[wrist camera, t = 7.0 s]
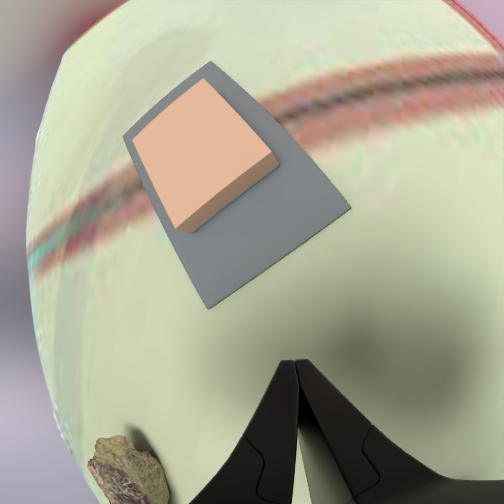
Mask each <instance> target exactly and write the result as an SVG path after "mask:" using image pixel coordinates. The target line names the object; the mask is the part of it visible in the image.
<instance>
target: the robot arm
mask: <svg viewBox="0 0 504 504" xmlns="http://www.w3.org/2000/svg"><path fill="white" fill-rule="evenodd" d="M297 435H298V438H299V443H300V448H301V453H302V458H303V463H304V468H305V472H306V477H307V482H308V487H309V492H310V497H311V502H312V504H504V480H457V479H451V478H447V477H444V476H442V475H440V474H438V473H436V472H435V471H433V470H431V469H430V468H428V467H427V466H425V465H424V464H422V463H421V462H419V461H418V460H416V459H415V458H414V457H412V456H411V455H409V454H408V453H406V452H405V451H404V450H402V449H401V448H400V447H398V446H397V445H396V444H394V443H393V442H392V441H391V440H390V439H388V438H387V437H386V436H385V435H384V434H383V433H382V432H381V431H379V430H378V429H377V428H376V427H375V426H374V425H373V424H372V425H371V422H370V421H369V420H368V419H367V418H366V417H365V416H364V415H363V414H362V413H361V412H360V411H359V410H358V409H357V408H356V407H355V406H354V405H353V404H352V403H351V402H350V401H349V400H348V399H347V398H346V397H345V396H344V395H343V394H342V393H341V392H340V391H339V390H338V389H337V388H336V387H335V386H334V385H333V384H332V383H331V382H330V381H329V380H328V379H327V378H326V377H325V376H324V375H323V374H322V373H321V372H320V371H319V370H318V369H317V368H316V367H315V366H314V365H313V364H312V363H311V362H310V361H309V360H308V359H297V360H295V361H294V360H282V361H280V363H279V365H278V367H277V369H276V371H275V373H274V375H273V377H272V379H271V381H270V383H269V386H268V388H267V389H266V391H265V393H264V395H263V397H262V399H261V401H260V403H259V405H258V407H257V409H256V411H255V413H254V415H253V417H252V418H251V420H250V422H249V424H248V426H247V428H246V429H245V431H244V433H243V435H242V437H241V438H240V440H239V442H238V443H237V445H236V447H235V448H234V450H233V452H232V453H231V455H230V456H229V458H228V459H227V461H226V462H225V463H224V465H223V466H222V467H221V468H220V470H219V471H218V472H217V474H216V475H215V476H214V477H213V478H212V479H211V480H210V482H209V483H208V484H207V485H206V486H205V487H204V488H203V489H202V490H201V491H200V493H199V494H198V495H197V496H196V497H195V498H194V499H193V500H192V501H191V502H190V503H189V504H292V495H293V485H294V475H295V463H296V450H297Z"/></svg>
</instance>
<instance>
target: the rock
mask: <svg viewBox="0 0 504 504" xmlns="http://www.w3.org/2000/svg"><path fill="white" fill-rule="evenodd" d="M95 450H96V452H95V453H94V457H93V459H90V461H89V462H88V465H87V466H88V469H89V470H90V472H91V474H92V475H93V477H94V479H95V480H96V482H97V484H98V486H99V487H100V488H101V490H102V491H103V492H104V494H105V496H106V497H107V498H108V499H109V502H110V504H167V503H168V500H169V491H168V487H167V483H166V477H165V475H164V470H163V468H162V466H161V464H160V463H159V462H158V460H157V459H156V458H154V457H153V456H151V455H150V453H149V452H148V451H140V452H139V451H137V450H136V449H135V447H134V445H133V444H132V441H131V440H130V439H129V438H126V437H125V436H115V437H111V438H107V439H106V438H101V439H98V440H97V441H96V445H95Z"/></svg>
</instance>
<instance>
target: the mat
mask: <svg viewBox="0 0 504 504" xmlns="http://www.w3.org/2000/svg"><path fill="white" fill-rule="evenodd" d="M203 78H204V79H205V80H206V81H207V82H208V83H209V84H210V85H211V86H212V87H213V88H214V89H215V90H216V91H217V92H218V93H219V94H220V95H221V96H222V98H223V99H224V100H225V101H226V102H227V103H228V104H229V105H230V106H231V107H232V108H233V109H234V110H235V111H236V112H237V113H238V114H239V115H240V116H241V118H242V119H243V120H244V121H245V122H246V123H247V124H248V125H249V126H250V127H251V129H252V130H253V131H254V132H255V133H256V134H257V135H258V136H259V138H260V139H261V140H262V141H263V142H264V143H265V144H266V145H267V147H268V148H269V149H270V150H271V151H272V153H273V154H274V156H275V158H276V160H277V161H278V163H279V165H278V166H279V167H277V168H276V169H275V170H273V171H272V172H271V173H269V174H268V175H267V176H265V177H264V178H263V179H261V180H260V181H259V182H257V183H256V184H255V185H253V186H252V187H251V188H249V189H248V190H247V191H245V192H244V193H243V194H241V195H240V196H239V197H238V198H236V199H235V200H234V201H232V202H231V203H230V204H229V205H227V206H226V207H225V208H224V209H222V210H221V211H220V212H218V213H217V214H216V215H215V216H213V217H212V218H211V219H210V220H208V221H207V222H206V223H205V224H204V225H202V226H201V227H200V228H199V229H197V230H196V231H195V232H192V233H188V232H185V231H181V230H178V229H175V227H174V225H173V223H172V221H171V219H170V217H169V215H168V214H167V212H166V210H165V208H164V206H163V204H162V202H161V200H160V198H159V196H158V194H157V192H156V190H155V188H154V185H153V183H152V181H151V179H150V177H149V175H148V173H147V171H146V169H145V167H144V165H143V162H142V160H141V158H140V156H139V154H138V152H137V150H136V147H135V145H134V143H133V141H132V140H133V139H134V138H135V137H136V136H137V135H138V134H139V133H140V132H141V131H142V130H143V129H144V128H145V127H146V126H147V125H148V124H149V123H150V122H151V121H152V120H153V119H155V118H156V117H157V116H158V115H159V114H160V113H161V112H162V111H163V110H165V109H166V108H167V107H168V106H169V105H170V104H172V103H173V102H174V101H175V100H176V99H178V98H179V97H180V96H181V95H182V94H184V93H185V92H186V91H187V90H189V89H190V88H191V87H192V86H194V85H195V84H196V83H198V82H199V81H200V80H202V79H203ZM122 137H123V139H124V142H125V144H126V146H127V149H128V151H129V153H130V156H131V158H132V160H133V163H134V165H135V167H136V170H137V172H138V174H139V176H140V179H141V181H142V183H143V185H144V187H145V190H146V192H147V194H148V196H149V198H150V200H151V203H152V205H153V207H154V209H155V211H156V213H157V215H158V217H159V219H160V221H161V223H162V225H163V227H164V229H165V231H166V233H167V235H168V237H169V239H170V241H171V243H172V245H173V247H174V249H175V251H176V253H177V255H178V257H179V259H180V261H181V262H182V264H183V266H184V268H185V270H186V272H187V274H188V276H189V277H190V279H191V281H192V283H193V285H194V287H195V288H196V290H197V292H198V294H199V295H200V297H201V299H202V301H203V303H204V304H205V306H206V308H207V309H210V308H212V307H213V306H215V305H216V304H217V303H219V302H220V301H222V300H223V299H225V298H226V297H228V296H229V295H231V294H232V293H233V292H235V291H236V290H238V289H239V288H241V287H242V286H244V285H245V284H246V283H248V282H249V281H251V280H252V279H254V278H255V277H256V276H258V275H259V274H261V273H262V272H264V271H265V270H266V269H268V268H269V267H271V266H272V265H273V264H275V263H276V262H278V261H279V260H280V259H282V258H283V257H285V256H286V255H288V254H289V253H290V252H292V251H293V250H294V249H296V248H297V247H299V246H300V245H301V244H303V243H304V242H306V241H307V240H308V239H310V238H311V237H313V236H314V235H315V234H317V233H318V232H319V231H321V230H322V229H324V228H325V227H326V226H328V225H329V224H330V223H332V222H333V221H334V220H336V219H337V218H339V217H340V216H341V215H343V214H344V213H345V212H347V211H348V210H349V209H351V206H350V205H349V204H348V202H347V201H346V200H345V198H344V197H343V196H342V195H341V193H340V192H339V191H338V190H337V188H336V187H335V186H334V185H333V184H332V182H331V181H330V180H329V179H328V178H327V176H326V175H325V174H324V173H323V172H322V170H321V169H320V168H319V167H318V166H317V165H316V163H315V162H314V161H313V160H312V159H311V158H310V157H309V156H308V154H307V153H306V152H305V151H304V150H303V149H302V148H301V147H300V146H299V144H298V143H297V142H296V141H295V140H294V139H293V138H292V137H291V136H290V135H289V134H288V133H287V132H286V131H285V130H284V128H283V127H282V126H281V125H280V124H279V123H278V122H277V121H276V120H275V119H274V118H273V117H272V116H271V115H270V114H269V113H268V112H267V111H266V110H265V109H264V108H263V107H262V106H261V105H260V104H259V103H258V102H256V101H255V100H254V99H253V98H252V97H251V96H250V95H249V94H248V93H247V92H246V91H245V90H244V89H243V88H241V87H240V86H239V85H238V84H237V83H236V82H235V81H234V80H233V79H231V78H230V77H229V76H228V75H227V74H226V73H225V72H223V71H222V70H221V69H220V68H219V67H218V66H216V65H215V64H214V63H213V62H212V61H210V62H208V63H207V64H205V65H204V66H203V67H201V68H200V69H199V70H197V71H196V72H195V73H193V74H192V75H191V76H189V77H188V78H187V79H185V80H184V81H183V82H182V83H180V84H179V85H178V86H177V87H176V88H174V89H173V90H172V91H171V92H169V93H168V94H167V95H166V96H165V97H164V98H162V99H161V100H160V101H159V102H158V103H157V104H156V105H155V106H153V107H152V108H151V109H150V110H149V111H148V112H147V113H146V114H145V115H144V116H143V117H142V118H140V119H139V120H138V121H137V122H136V123H135V124H134V125H133V126H132V127H131V128H130V129H129V130H128V131H127V132H126V133H125V134H124V135H123V136H122Z"/></svg>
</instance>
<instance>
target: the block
mask: <svg viewBox="0 0 504 504" xmlns="http://www.w3.org/2000/svg"><path fill="white" fill-rule="evenodd" d="M132 141H133V143H134V145H135V147H136V150H137V152H138V154H139V156H140V158H141V160H142V162H143V165H144V167H145V169H146V171H147V173H148V175H149V177H150V179H151V181H152V183H153V185H154V188H155V190H156V192H157V194H158V196H159V198H160V200H161V202H162V204H163V206H164V208H165V210H166V212H167V214H168V215H169V217H170V219H171V221H172V223H173V225H174V227H175V229H178V230H181V231H185V232H188V233H192V232H195V231H196V230H197V229H199V228H200V227H201V226H202V225H204V224H205V223H206V222H207V221H208V220H210V219H211V218H212V217H213V216H215V215H216V214H217V213H218V212H220V211H221V210H222V209H224V208H225V207H226V206H227V205H229V204H230V203H231V202H232V201H234V200H235V199H236V198H238V197H239V196H240V195H241V194H243V193H244V192H245V191H247V190H248V189H249V188H251V187H252V186H253V185H255V184H256V183H257V182H259V181H260V180H261V179H263V178H264V177H265V176H267V175H268V174H269V173H271V172H272V171H273V170H275V169H276V168H277V167H279V166H278V165H279V163H278V161H277V160H276V158H275V156H274V154H273V153H272V151H271V150H270V149H269V148H268V147H267V145H266V144H265V143H264V142H263V141H262V140H261V139H260V138H259V136H258V135H257V134H256V133H255V132H254V131H253V130H252V129H251V127H250V126H249V125H248V124H247V123H246V122H245V121H244V120H243V119H242V118H241V116H240V115H239V114H238V113H237V112H236V111H235V110H234V109H233V108H232V107H231V106H230V105H229V104H228V103H227V102H226V101H225V100H224V99H223V98H222V96H221V95H220V94H219V93H218V92H217V91H216V90H215V89H214V88H213V87H212V86H211V85H210V84H209V83H208V82H207V81H206V80H205V79H204V78H203V79H202V80H200V81H199V82H198V83H196V84H195V85H194V86H192V87H191V88H190V89H189V90H187V91H186V92H185V93H184V94H182V95H181V96H180V97H179V98H178V99H176V100H175V101H174V102H173V103H172V104H170V105H169V106H168V107H167V108H166V109H165V110H163V111H162V112H161V113H160V114H159V115H158V116H157V117H156V118H155V119H153V120H152V121H151V122H150V123H149V124H148V125H147V126H146V127H145V128H144V129H143V130H142V131H141V132H140V133H139V134H138V135H137V136H136V137H135V138H134V139H133V140H132Z"/></svg>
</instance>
